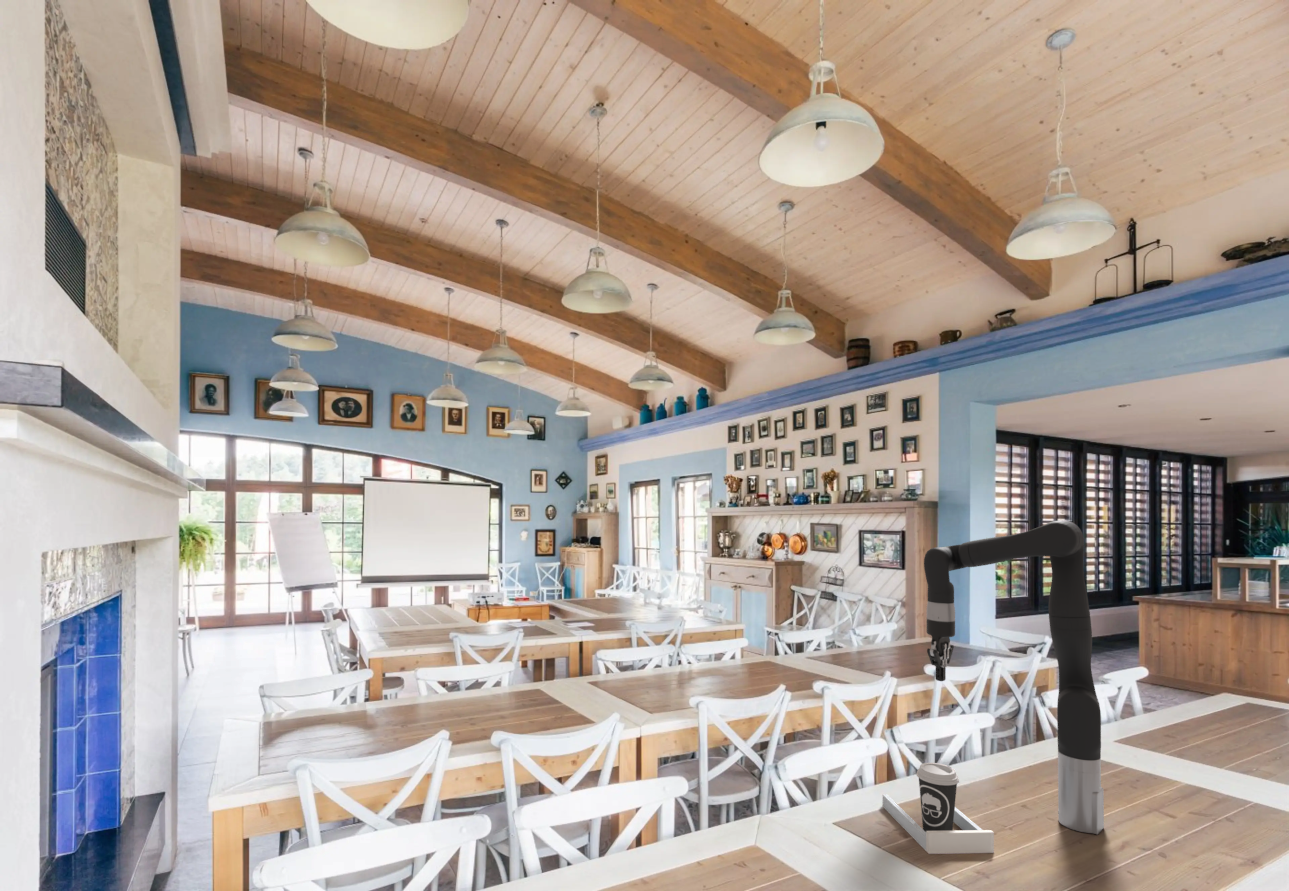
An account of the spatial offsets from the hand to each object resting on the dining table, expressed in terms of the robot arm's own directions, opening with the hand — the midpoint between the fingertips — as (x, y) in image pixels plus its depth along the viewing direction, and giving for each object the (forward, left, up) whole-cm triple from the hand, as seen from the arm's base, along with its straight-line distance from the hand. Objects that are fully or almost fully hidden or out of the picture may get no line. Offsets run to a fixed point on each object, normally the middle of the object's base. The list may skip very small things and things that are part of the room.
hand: (940, 680), depth 207 cm
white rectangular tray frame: (-10, +27, -29) cm, 41 cm away
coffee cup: (-12, +29, -29) cm, 43 cm away
